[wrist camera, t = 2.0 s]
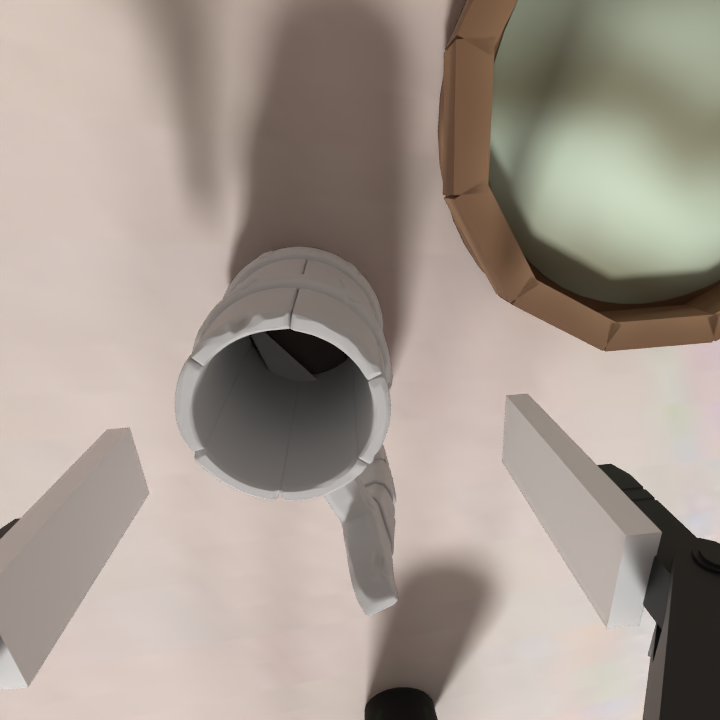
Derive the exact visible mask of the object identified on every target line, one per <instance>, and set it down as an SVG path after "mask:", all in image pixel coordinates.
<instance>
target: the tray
mask: <svg viewBox="0 0 720 720" xmlns="http://www.w3.org/2000/svg"><path fill="white" fill-rule="evenodd" d="M445 50H447V51H446V52H445V53H444V76H443V82H442V88H441V94H440V104H439V121H438V142H439V160H440V168H441V174H442V179H443V195H446V197H445V198H444V200H445V201H446V203H447V205H448V207H449V209H450V211H451V214H452V218H453V221H454V223H455V225H456V227H457V229H458V232H459V234H460V236H461V238H462V240H463V242H464V244H465V246H466V248H467V249H468V251H469V252H470V254H471V255H472V257H473V259H474V260H475V262H476V263H477V265H478V266H479V267H480V269H481V270H482V271H483V272H484V273H485V274H486V276H487V278H488V280H489V281H490V283H491V285H492V287H493V289H494V291H495V292H496V294H498V296H500V297H501V298H503V299H504V300H506V301H507V302H509V303H510V304H512V305H514V306H516V307H518V308H520V309H522V310H524V311H526V312H528V313H529V314H531V315H533V316H535V317H537V318H539V319H541V320H543V321H545V322H547V323H549V324H551V325H553V326H555V327H557V328H559V329H561V330H563V331H565V332H567V333H569V334H571V335H573V336H575V337H577V338H579V339H580V340H582V341H584V342H586V343H588V344H590V345H592V346H594V347H596V348H598V349H600V350H602V351H603V350H604V351H616V350H627V349H639V348H651V347H663V346H675V345H686V344H698V343H710V342H712V341H713V340H714V341H717V340H719V339H720V0H466V2H465V5H464V7H463V10H462V12H461V15H460V17H459V19H458V22H457V25H456V27H455V29H454V31H453V33H452V35H451V38H450V40H449V42H448V44H447V46H446V48H445Z"/></svg>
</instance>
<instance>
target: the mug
mask: <svg viewBox="0 0 720 720" xmlns="http://www.w3.org/2000/svg"><path fill="white" fill-rule="evenodd" d="M289 328H290V329H292V330H294V331H298V332H303V333H307V334H310V335H313V336H316V337H319V338H321V339H323V340H326V341H328V342H329V343H331V344H333V345H335V346H336V347H338V348H339V349H340V350H342V351H343V352H344V353H346V354H347V355H348V357H347V358H346V359H345V360H344V361H343V362H342V363H341V364H340V365H338V366H337V367H335V368H333V369H330V370H328V371H326V372H322V373H319V374H313V375H312V374H311V373H310V372H308V371H307V370H306V369H305V368H304V367H303V366H302V365H301V364H300V363H298V362H297V361H296V360H295V359H294V358H293V357H292V356H291V355H289V354H288V353H287V352H286V351H285V350H284V349H283V348H282V347H280V346H279V345H278V344H277V343H276V342H275V341H274V340H273V339H271V338H270V337H269V336H268V335H267V334H266V333H265V332H264V331H269V330H281V329H289ZM248 335H251V336H252V338H253V340H254V342H255V344H256V346H257V348H258V350H259V352H260V354H261V355H260V354H259V353H258V352H257V350H256V349H255V347H254V346H253V345H252V344H251V343H252V342H251V339H250V337H249V336H248ZM392 378H393V375H392V369H391V362H390V355H389V350H388V347H387V343H386V341H385V338H384V334H383V317H382V312H381V308H380V305H379V302H378V299H377V297H376V294H375V292H374V291H373V289H372V287H371V286H370V284H369V283H368V281H367V280H366V279H365V277H364V276H363V275H362V274H361V273H360V272H359V271H358V270H357V268H356V267H355V266H354V265H353V264H351V263H350V262H347V261H346V260H344V259H342V258H341V257H339V256H337V255H335V254H332V253H330V252H327V251H324V250H321V249H316V248H311V247H288V248H282V249H278V250H275V251H268V252H266V253H264V254H262V255H260V256H259V257H258V258H257V259H255V260H254V261H252V262H251V263H249V264H248V265H247V266H245V267H244V268H243V269H242V270H241V271H240V272H239V273H238V274H237V276H236V277H235V278H234V279H233V281H232V282H231V284H230V285H229V287H228V289H227V291H226V293H225V295H224V297H223V299H222V300H221V301H220V302H219V303H218V304H217V305H216V306H215V307H214V309H213V310H212V311H211V312H210V314H209V315H208V317H207V318H206V320H205V321H204V323H203V325H202V326H201V328H200V330H199V332H198V334H197V337H196V340H195V343H194V347H193V351H192V354H191V355H190V357H189V358H188V359H187V361H186V362H185V364H184V366H183V368H182V370H181V373H180V376H179V379H178V382H177V387H176V393H175V414H176V420H177V424H178V428H179V431H180V433H181V435H182V437H183V439H184V440H185V442H186V443H187V444H188V446H189V447H190V449H191V450H192V451H195V460H196V461H197V462H198V463H199V464H200V465H201V466H202V467H203V468H204V469H205V470H206V471H207V472H208V473H209V474H210V475H212V476H213V477H214V478H216V479H217V480H219V481H220V482H222V483H224V484H226V485H228V486H229V487H231V488H233V489H235V490H237V491H239V492H242V493H244V494H247V495H250V496H253V497H257V498H262V499H270V500H276V499H277V498H278V495H279V493H280V491H281V497H282V499H283V500H295V501H297V500H305V499H310V498H314V497H318V496H321V495H323V496H324V497H325V499H326V501H327V502H328V504H329V506H330V507H331V509H332V510H333V512H334V513H335V514H336V516H337V517H338V518H339V520H340V522H341V524H342V527H343V534H344V541H345V546H346V551H347V558H348V565H349V571H350V577H351V581H352V585H353V589H354V592H355V595H356V598H357V600H358V602H359V604H360V606H361V608H362V610H363V612H364V613H365V615H366V616H371V615H373V614H376V613H378V612H380V611H382V610H384V609H386V608H388V607H390V606H392V605H394V604H395V603H396V602H397V601H398V593H397V588H396V584H395V579H394V572H393V559H392V555H393V550H394V530H395V518H394V516H395V507H394V504H395V503H396V493H395V488H394V483H393V478H392V475H391V471H390V468H389V463H388V460H387V456H386V452H385V449H384V446H383V442H384V439H385V436H386V433H387V430H388V427H389V422H390V413H391V403H390V394H389V390H390V388H391V385H392Z"/></svg>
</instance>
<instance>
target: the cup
mask: <svg viewBox="0 0 720 720" xmlns="http://www.w3.org/2000/svg"><path fill="white" fill-rule="evenodd" d="M365 720H438V719H437V716H436V712H435V708H434V705H433V702H432V699H431V698H430V697H429V696H428V695H427V694H426V693H424V692H423V691H420V690H417V689H413V688H395V689H390V690H387V691H384V692H381V693H380V694H378V695H376V696H375V697H373V698H372V699H371V700H370V701H369V702H368V704H367V705H366V708H365Z"/></svg>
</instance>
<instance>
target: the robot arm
mask: <svg viewBox="0 0 720 720" xmlns="http://www.w3.org/2000/svg"><path fill="white" fill-rule="evenodd" d="M502 462H503V464H504V466H505V467H506V469H507V470H508V472H509V474H510V475H511V477H512V478H513V480H514V482H515V483H516V485H517V486H518V488H519V490H520V491H521V493H522V494H523V496H524V497H525V499H526V501H527V502H528V504H529V505H530V507H531V509H532V510H533V512H534V513H535V515H536V517H537V518H538V520H539V521H540V523H541V525H542V526H543V528H544V529H545V531H546V533H547V534H548V536H549V537H550V539H551V541H552V542H553V544H554V545H555V547H556V548H557V550H558V552H559V553H560V555H561V556H562V558H563V560H564V561H565V563H566V564H567V566H568V568H569V569H570V571H571V572H572V574H573V576H574V577H575V579H576V580H577V582H578V584H579V585H580V587H581V588H582V590H583V592H584V593H585V595H586V596H587V598H588V599H589V601H590V603H591V604H592V606H593V607H594V609H595V611H596V612H597V614H598V615H599V617H600V619H601V620H602V622H603V623H604V625H605V627H606V628H607V629H610V628H620V627H630V626H639V625H640V621H641V617H642V613H643V609H644V607H645V608H646V609H647V611H648V612H649V613H650V615H651V616H652V617H653V619H654V620H655V621H656V626H655V629H654V633H653V637H652V641H651V645H650V649H649V652H648V656H649V657H651V658H650V666H649V674H648V681H647V689H646V697H645V705H644V713H643V720H720V544H719V543H717V542H715V541H711V540H706V539H702V538H697V537H695V536H694V535H693V534H692V533H691V532H690V531H689V530H688V529H687V528H686V527H685V526H684V525H683V524H682V523H681V522H680V521H679V520H677V519H676V518H675V517H674V516H673V515H672V514H671V513H670V512H669V511H668V510H667V509H666V508H665V507H664V506H663V505H662V504H661V503H660V502H658V501H657V500H655V499H654V497H653V496H652V495H651V494H650V493H649V492H648V491H647V490H646V489H645V490H644V489H643V486H642V485H640V484H639V483H638V482H637V481H636V480H635V479H634V478H633V477H632V476H631V475H630V474H628V473H627V472H625V471H623V470H621V469H619V468H617V467H616V466H614V465H612V464H604V465H596V464H595V463H594V462H593V461H592V460H591V458H590V457H589V456H588V455H587V454H586V453H585V452H584V451H583V450H582V449H581V448H580V447H579V446H578V445H577V444H576V443H575V442H574V441H573V440H572V439H571V438H570V437H569V436H568V435H567V434H566V433H565V432H564V431H563V430H562V429H561V428H560V427H559V426H558V425H557V423H556V422H555V421H554V420H553V419H552V418H551V417H550V416H549V415H548V414H547V413H546V412H545V411H544V410H543V409H542V408H541V407H540V406H539V405H538V404H537V403H536V402H535V401H534V400H533V399H532V398H531V397H530V396H529V395H528V394H519V395H507V396H506V406H505V422H504V438H503V453H502ZM148 495H149V490H148V487H147V484H146V480H145V477H144V474H143V470H142V467H141V464H140V460H139V457H138V454H137V450H136V447H135V444H134V440H133V437H132V434H131V430H130V428H120V429H109V430H106V431H105V432H104V433H103V434H102V435H101V436H100V437H99V439H98V440H97V441H96V442H95V443H94V444H93V445H92V446H91V447H90V448H89V449H88V450H87V451H86V452H85V453H84V454H83V455H82V456H81V457H80V458H79V459H78V460H77V461H76V462H75V463H74V464H73V465H72V466H71V467H70V468H69V469H68V470H67V471H66V472H65V473H64V474H63V475H62V477H61V478H60V479H59V480H58V481H57V482H56V483H55V484H54V485H53V486H52V487H51V488H50V489H49V490H48V491H47V492H46V493H45V494H44V495H43V496H42V497H41V498H40V499H39V500H38V501H37V502H36V503H35V504H34V505H33V506H32V507H31V508H30V509H29V510H28V511H27V512H26V513H25V515H24V516H23V517H22V518H20V519H14V520H13V521H11V522H10V523H8V524H7V525H6V526H4V527H3V528H1V529H0V690H4V689H14V688H24V687H29V685H30V684H31V682H32V680H33V679H34V677H35V676H36V674H37V672H38V671H39V669H40V668H41V666H42V664H43V663H44V661H45V660H46V658H47V656H48V655H49V653H50V652H51V650H52V648H53V647H54V645H55V644H56V642H57V640H58V639H59V637H60V636H61V634H62V632H63V631H64V629H65V628H66V626H67V624H68V623H69V621H70V620H71V618H72V616H73V615H74V613H75V612H76V610H77V608H78V607H79V605H80V603H81V602H82V600H83V599H84V597H85V595H86V594H87V592H88V591H89V589H90V587H91V586H92V584H93V583H94V581H95V579H96V578H97V576H98V575H99V573H100V571H101V570H102V568H103V567H104V565H105V563H106V562H107V560H108V559H109V557H110V555H111V554H112V552H113V551H114V549H115V547H116V546H117V544H118V543H119V541H120V539H121V538H122V536H123V535H124V533H125V531H126V530H127V528H128V527H129V525H130V523H131V522H132V520H133V519H134V517H135V515H136V514H137V512H138V511H139V509H140V507H141V506H142V504H143V503H144V501H145V499H146V498H147V496H148Z"/></svg>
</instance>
